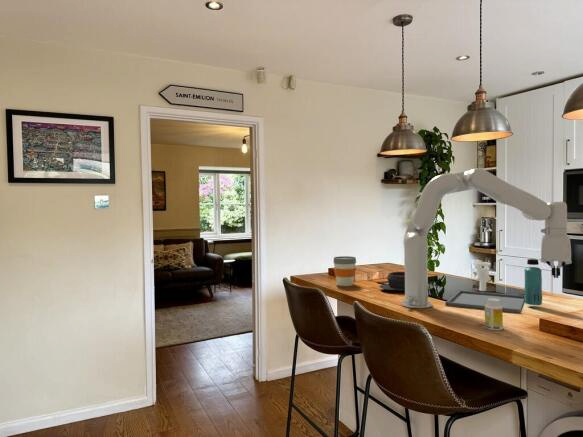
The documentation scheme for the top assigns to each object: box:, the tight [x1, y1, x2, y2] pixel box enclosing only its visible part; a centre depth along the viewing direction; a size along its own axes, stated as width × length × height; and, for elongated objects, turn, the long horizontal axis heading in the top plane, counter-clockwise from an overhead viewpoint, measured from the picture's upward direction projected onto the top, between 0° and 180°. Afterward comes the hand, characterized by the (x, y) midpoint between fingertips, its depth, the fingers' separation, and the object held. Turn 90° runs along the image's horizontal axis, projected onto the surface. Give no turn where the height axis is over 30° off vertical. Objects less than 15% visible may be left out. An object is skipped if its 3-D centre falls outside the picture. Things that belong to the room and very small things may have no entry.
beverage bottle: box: [523, 258, 543, 306], centre depth 173 cm, size 6×7×20 cm
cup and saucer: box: [378, 271, 405, 293], centre depth 213 cm, size 25×19×8 cm
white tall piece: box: [474, 259, 492, 292], centre depth 207 cm, size 7×7×15 cm
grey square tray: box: [445, 289, 525, 314], centre depth 183 cm, size 28×28×2 cm
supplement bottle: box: [484, 298, 504, 331], centre depth 145 cm, size 6×6×10 cm
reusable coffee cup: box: [333, 255, 357, 287], centre depth 231 cm, size 13×13×15 cm
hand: (555, 277), depth 168 cm, fingers closed
